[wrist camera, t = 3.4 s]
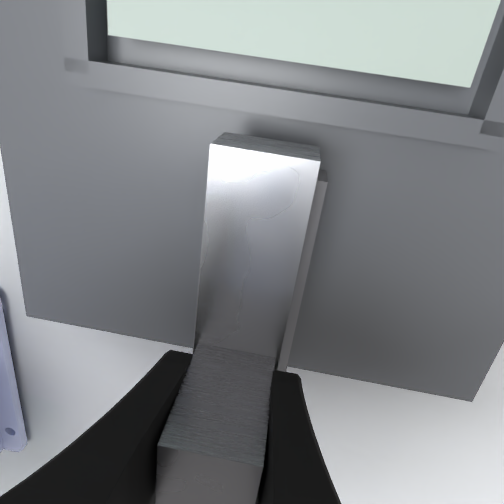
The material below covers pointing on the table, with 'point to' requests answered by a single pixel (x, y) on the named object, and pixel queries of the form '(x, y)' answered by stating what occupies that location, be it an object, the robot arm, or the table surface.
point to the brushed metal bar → (237, 319)
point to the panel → (195, 185)
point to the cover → (324, 32)
